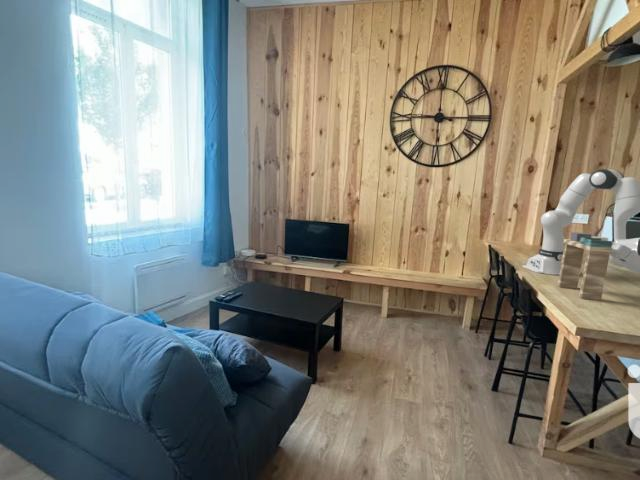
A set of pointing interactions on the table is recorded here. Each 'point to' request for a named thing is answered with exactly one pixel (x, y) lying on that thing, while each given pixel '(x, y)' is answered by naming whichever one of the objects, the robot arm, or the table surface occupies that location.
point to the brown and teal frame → (592, 269)
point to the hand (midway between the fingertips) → (597, 238)
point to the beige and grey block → (577, 236)
